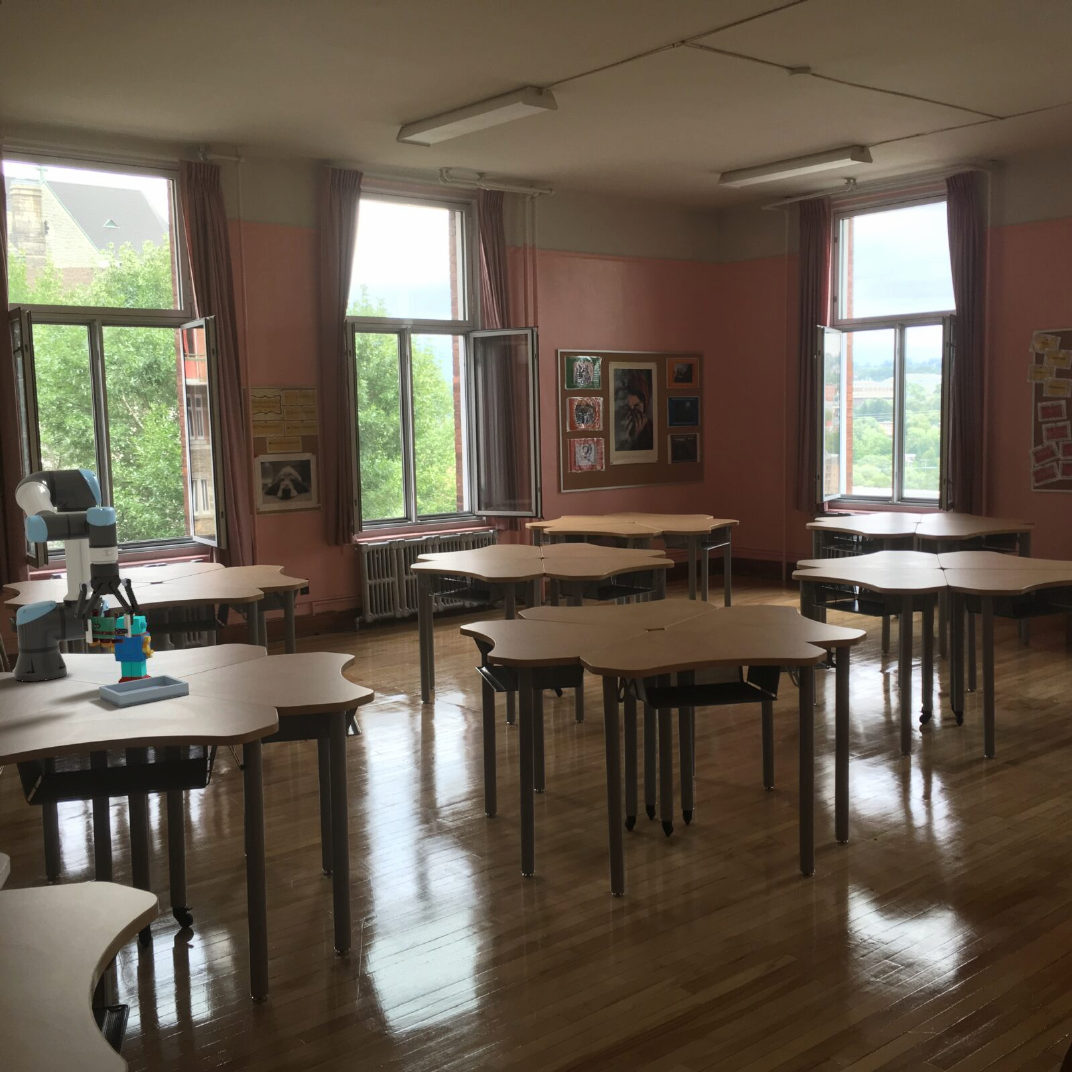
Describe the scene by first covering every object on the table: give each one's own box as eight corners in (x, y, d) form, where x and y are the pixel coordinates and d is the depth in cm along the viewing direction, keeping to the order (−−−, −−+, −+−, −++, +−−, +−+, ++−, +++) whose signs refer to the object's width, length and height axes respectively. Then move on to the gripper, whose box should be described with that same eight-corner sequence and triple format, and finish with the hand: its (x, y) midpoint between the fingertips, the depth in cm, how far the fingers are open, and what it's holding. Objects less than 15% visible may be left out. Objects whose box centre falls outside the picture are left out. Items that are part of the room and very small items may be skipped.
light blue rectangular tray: (99, 698, 312) (99, 686, 312) (166, 686, 326) (165, 674, 326) (120, 707, 302) (120, 695, 301) (189, 694, 315) (188, 682, 315)
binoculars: (133, 608, 309) (106, 610, 300) (132, 645, 309) (105, 648, 300) (109, 606, 313) (82, 608, 304) (109, 642, 313) (81, 646, 304)
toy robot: (158, 682, 331) (153, 601, 328) (149, 687, 325) (144, 605, 322) (121, 682, 332) (116, 602, 329) (112, 687, 326) (107, 605, 323)
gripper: (66, 567, 295) (72, 647, 297) (149, 559, 309) (153, 635, 312) (57, 564, 300) (63, 643, 302) (139, 557, 315) (143, 632, 317)
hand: (109, 639), depth 307 cm, fingers closed on binoculars, 10 cm apart
